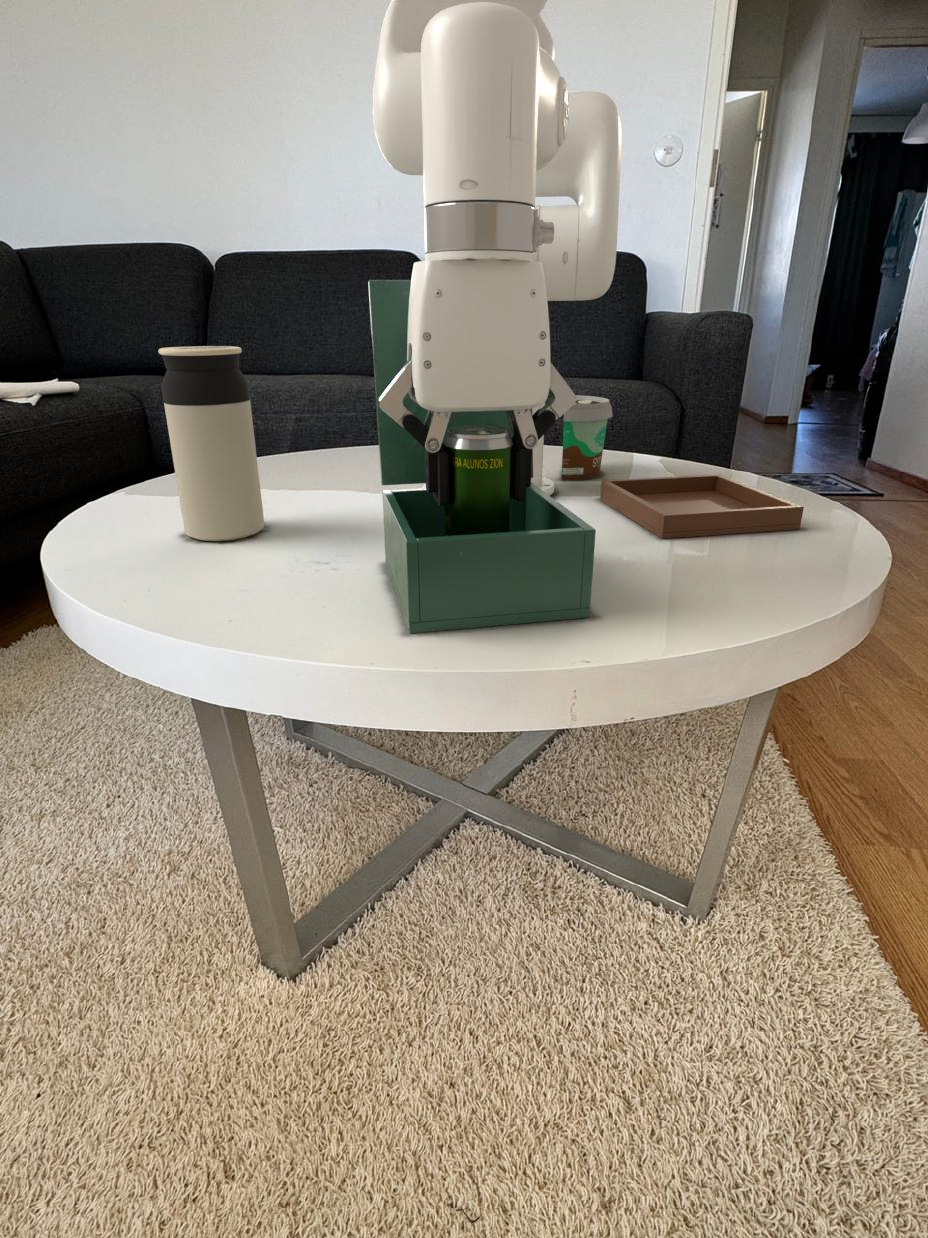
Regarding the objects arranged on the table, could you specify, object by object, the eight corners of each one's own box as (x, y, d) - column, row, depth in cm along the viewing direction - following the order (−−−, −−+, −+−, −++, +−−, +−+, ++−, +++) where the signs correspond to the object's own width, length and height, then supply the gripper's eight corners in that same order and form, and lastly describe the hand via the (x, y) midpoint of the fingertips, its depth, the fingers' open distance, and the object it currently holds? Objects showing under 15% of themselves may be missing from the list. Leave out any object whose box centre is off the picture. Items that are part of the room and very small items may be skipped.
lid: (530, 280, 61) (514, 293, 66) (368, 279, 58) (364, 292, 63) (533, 477, 65) (518, 476, 69) (382, 485, 62) (377, 483, 67)
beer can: (522, 584, 58) (527, 432, 53) (462, 595, 56) (462, 437, 51) (491, 564, 63) (493, 423, 58) (434, 574, 60) (431, 427, 56)
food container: (607, 484, 95) (613, 405, 91) (560, 482, 96) (564, 404, 92) (608, 466, 106) (614, 395, 102) (566, 464, 107) (570, 394, 103)
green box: (589, 617, 54) (596, 529, 51) (409, 633, 51) (406, 541, 49) (529, 554, 68) (532, 482, 65) (385, 564, 65) (382, 490, 63)
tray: (599, 499, 87) (601, 480, 86) (717, 493, 90) (719, 474, 89) (661, 538, 72) (664, 515, 71) (800, 529, 75) (804, 506, 74)
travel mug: (280, 526, 77) (261, 346, 70) (229, 546, 70) (202, 350, 63) (222, 518, 80) (198, 345, 73) (168, 537, 73) (135, 348, 66)
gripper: (578, 245, 54) (565, 483, 62) (350, 242, 51) (365, 494, 58) (617, 236, 48) (598, 505, 55) (358, 232, 44) (373, 518, 52)
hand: (478, 496), depth 57 cm, fingers closed on beer can, 5 cm apart
